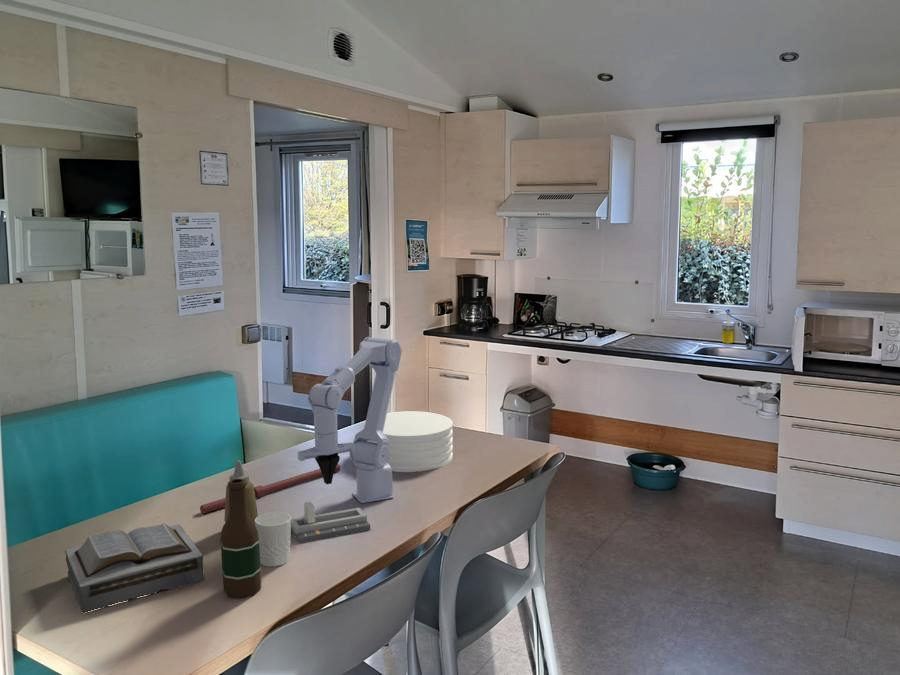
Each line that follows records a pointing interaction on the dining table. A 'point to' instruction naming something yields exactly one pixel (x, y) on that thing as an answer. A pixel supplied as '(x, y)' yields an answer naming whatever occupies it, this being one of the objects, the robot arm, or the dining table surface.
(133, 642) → the dining table surface
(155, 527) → the bible
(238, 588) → the sauce bottle
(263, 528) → the white cup
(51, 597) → the dining table surface
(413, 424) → the plate stack
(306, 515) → the fader
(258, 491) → the red long thin rod
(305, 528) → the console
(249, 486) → the squeeze bottle
